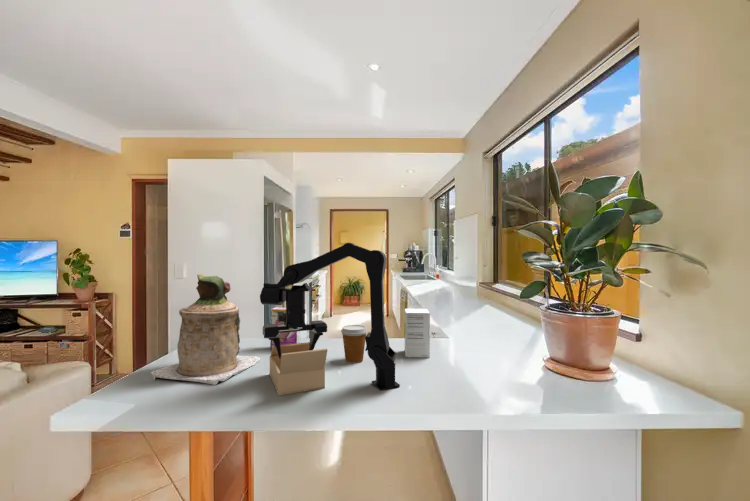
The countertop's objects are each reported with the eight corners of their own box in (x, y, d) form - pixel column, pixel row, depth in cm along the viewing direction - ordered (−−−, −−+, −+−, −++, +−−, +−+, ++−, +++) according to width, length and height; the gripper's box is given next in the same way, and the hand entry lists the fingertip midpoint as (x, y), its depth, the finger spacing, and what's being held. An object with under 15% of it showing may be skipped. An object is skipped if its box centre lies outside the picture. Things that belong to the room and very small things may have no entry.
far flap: (270, 355, 113) (270, 354, 113) (309, 351, 118) (308, 349, 118) (273, 347, 108) (273, 345, 108) (313, 343, 113) (313, 341, 113)
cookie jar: (219, 386, 103) (219, 276, 103) (147, 380, 108) (148, 275, 108) (262, 361, 127) (262, 272, 127) (202, 357, 132) (202, 271, 132)
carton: (324, 388, 101) (324, 367, 101) (278, 395, 96) (278, 373, 96) (309, 369, 118) (309, 351, 118) (269, 374, 113) (269, 355, 113)
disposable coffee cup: (366, 364, 123) (366, 330, 123) (339, 364, 123) (339, 330, 123) (367, 356, 132) (368, 324, 132) (342, 356, 132) (342, 324, 132)
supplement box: (404, 350, 141) (404, 308, 141) (427, 350, 140) (427, 308, 141) (405, 357, 131) (405, 312, 131) (430, 357, 131) (430, 312, 131)
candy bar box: (269, 350, 141) (269, 309, 141) (274, 346, 146) (274, 307, 146) (296, 350, 140) (297, 309, 140) (300, 347, 145) (300, 307, 145)
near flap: (323, 367, 101) (324, 368, 101) (279, 373, 96) (280, 374, 96) (327, 348, 98) (327, 349, 98) (281, 353, 93) (282, 354, 93)
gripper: (318, 300, 119) (318, 347, 119) (260, 303, 111) (260, 353, 111) (327, 305, 109) (327, 355, 109) (265, 308, 101) (264, 363, 101)
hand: (295, 356), depth 108 cm, fingers open, 9 cm apart
